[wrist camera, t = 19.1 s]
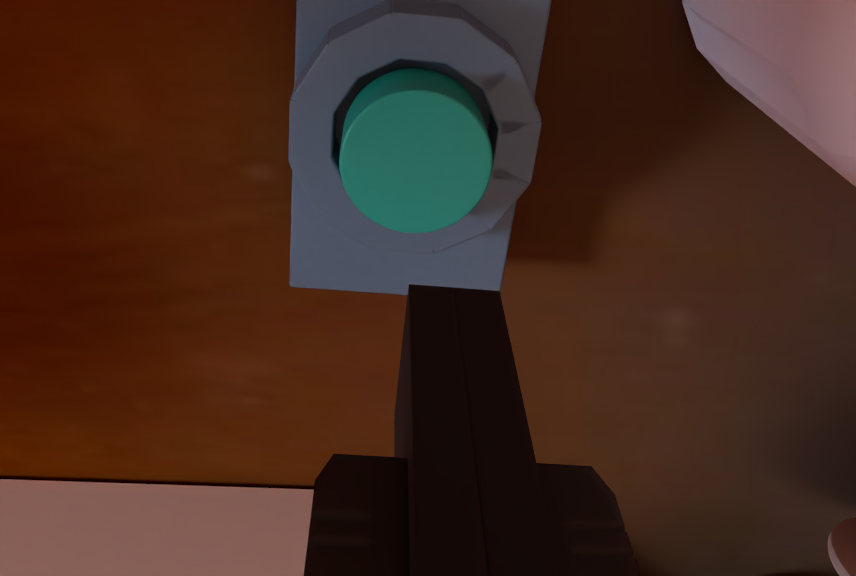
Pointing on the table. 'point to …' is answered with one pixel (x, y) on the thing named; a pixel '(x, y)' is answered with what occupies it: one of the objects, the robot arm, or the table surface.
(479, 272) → the button housing
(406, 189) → the teal push button
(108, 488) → the stepped bracket block
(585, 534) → the robot arm
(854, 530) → the soup bowl
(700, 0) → the soap bottle
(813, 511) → the table surface
